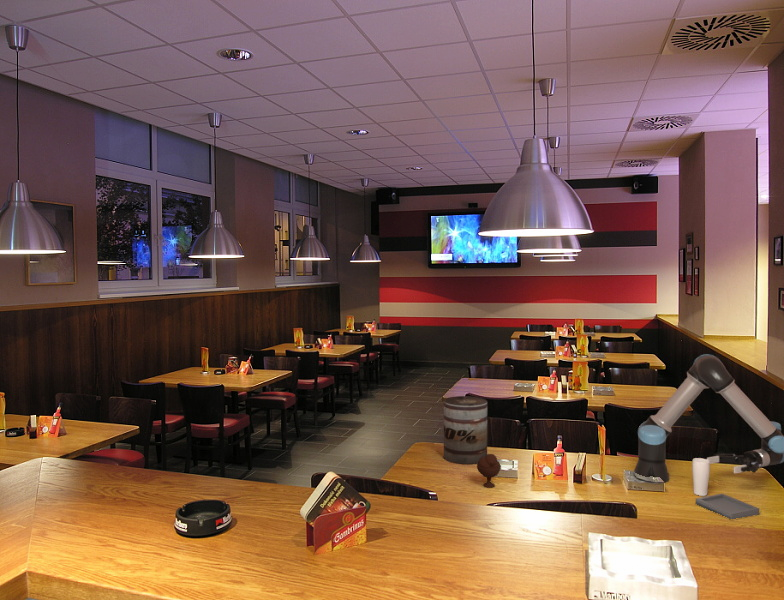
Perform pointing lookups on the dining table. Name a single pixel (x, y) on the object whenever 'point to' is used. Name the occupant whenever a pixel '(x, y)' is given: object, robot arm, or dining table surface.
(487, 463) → the ice cream bowl
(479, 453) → the barrel
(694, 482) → the drinking glass
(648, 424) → the robot arm
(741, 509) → the serving tray
